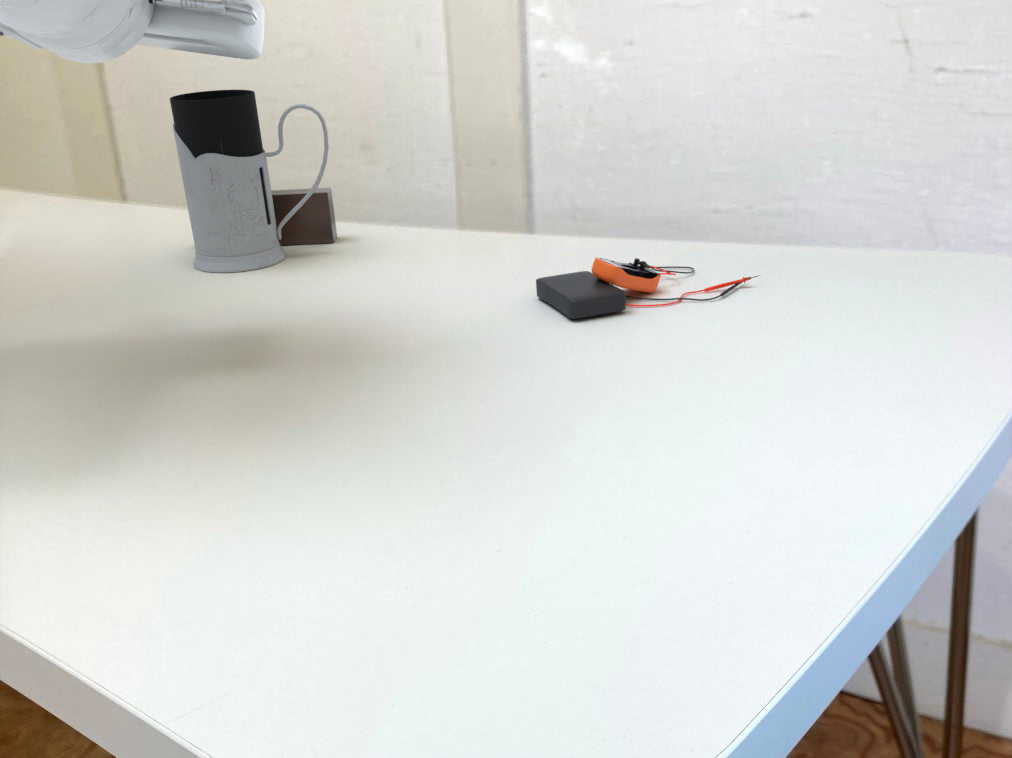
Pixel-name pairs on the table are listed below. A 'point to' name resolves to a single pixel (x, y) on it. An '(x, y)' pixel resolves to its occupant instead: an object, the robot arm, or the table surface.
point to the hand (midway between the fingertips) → (135, 30)
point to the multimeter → (609, 287)
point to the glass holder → (230, 179)
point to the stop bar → (305, 216)
